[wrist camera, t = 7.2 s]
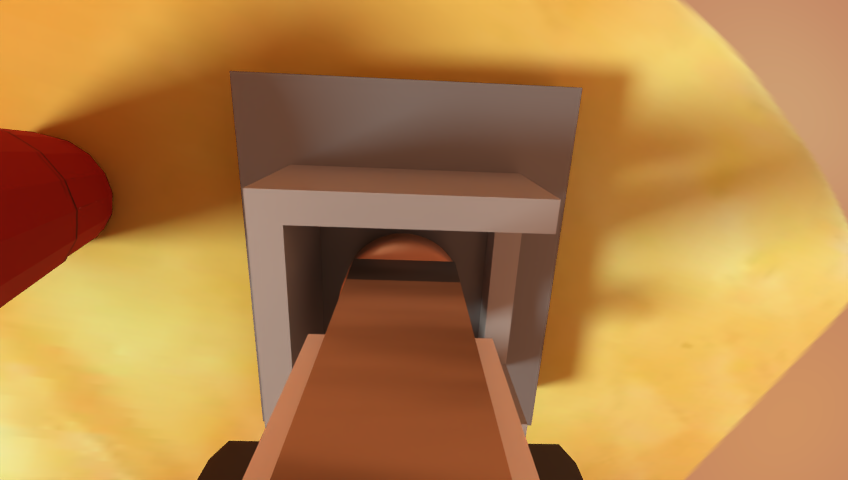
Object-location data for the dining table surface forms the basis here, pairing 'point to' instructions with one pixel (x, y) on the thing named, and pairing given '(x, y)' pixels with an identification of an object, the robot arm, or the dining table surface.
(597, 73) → the dining table surface
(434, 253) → the button
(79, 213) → the plastic cup
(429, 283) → the brown wooden block
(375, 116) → the switch panel
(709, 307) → the dining table surface
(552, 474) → the robot arm
